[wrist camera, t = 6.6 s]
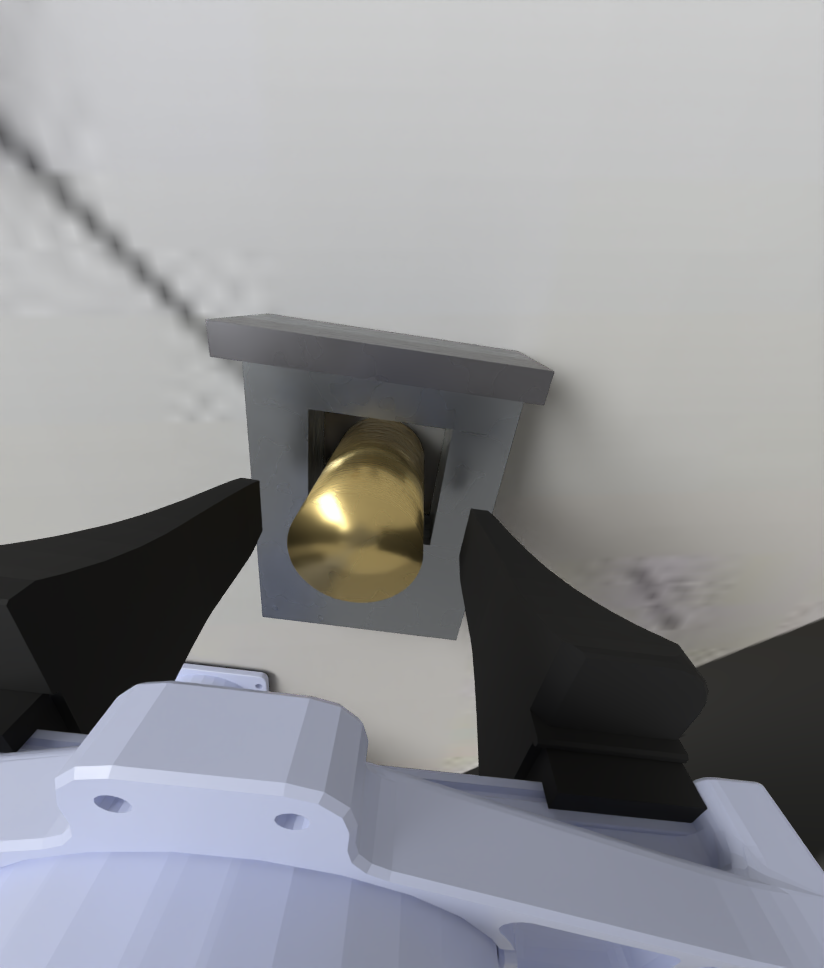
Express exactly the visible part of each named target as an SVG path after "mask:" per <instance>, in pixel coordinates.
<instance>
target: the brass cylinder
mask: <svg viewBox="0 0 824 968" xmlns="http://www.w3.org/2000/svg"><path fill="white" fill-rule="evenodd" d="M423 531H424V453H423V448H422V445H421V443H420V441H419V439H418V437H417V436H416V434H415V433H414V432H413V431H412V430H411V429H410V428H409V427H407V426H406V425H404V424H403V423H401V422H396V421H389V420H382V419H375V418H368V419H364V420H362V421H360V422H358V423H356V424H355V425H353V426H352V427H351V428H350V429H349V430H348V431H347V432H346V433H345V435H344V436H343V438H342V440H341V441H340V443H339V445H338V446H337V448H336V450H335V451H334V453H333V455H332V456H331V458H330V460H329V461H328V463H327V465H326V466H325V468H324V470H323V471H322V473H321V475H320V476H319V478H318V480H317V481H316V483H315V485H314V486H313V488H312V490H311V491H310V493H309V495H308V496H307V498H306V500H305V501H304V503H303V505H302V506H301V508H300V510H299V512H298V513H297V515H296V517H295V518H294V520H293V522H292V523H291V526H290V528H289V532H288V536H287V548H288V553H289V557H290V560H291V562H292V564H293V566H294V568H295V569H296V571H297V572H298V574H299V575H300V576H301V577H302V578H303V579H304V580H305V581H306V582H307V583H308V584H309V585H311V586H312V587H313V588H315V589H316V590H318V591H319V592H321V593H323V594H325V595H327V596H330V597H332V598H335V599H339V600H342V601H348V602H356V603H368V602H376V601H381V600H384V599H387V598H390V597H392V596H395V595H397V594H398V593H400V592H402V591H403V590H404V589H406V588H407V587H408V586H409V585H410V584H411V583H412V582H413V581H414V579H415V578H416V576H417V575H418V573H419V571H420V569H421V565H422V562H423Z"/></svg>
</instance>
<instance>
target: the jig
mask: <svg viewBox="0 0 824 968" xmlns="http://www.w3.org/2000/svg"><path fill="white" fill-rule="evenodd" d="M206 327H207V336H208V344H209V353H210V357H216V358H223V359H230V360H237V361H242V365H243V378H244V390H245V403H246V415H247V428H248V440H249V453H250V465H251V478H252V479H254V480H259V482H260V497H261V512H262V528H263V531H262V533H261V535H260V538H259V540H258V542H257V553H258V565H259V578H260V590H261V603H262V615H263V617H269V618H277V619H285V620H293V621H302V622H310V623H318V624H326V625H335V626H343V627H351V628H359V629H367V630H376V631H384V632H392V633H400V634H409V635H417V636H425V637H433V638H442V639H450V640H456V639H457V635H458V632H459V628H460V625H461V621H462V618H463V614H464V611H465V606H464V600H463V595H462V589H461V583H460V569H459V554H460V550H461V546H462V542H463V538H464V534H465V530H466V526H467V522H468V518H469V514H470V510H471V508H472V509H479V510H487V511H489V512H490V513H491V514H492V512H493V509H494V505H495V502H496V498H497V494H498V491H499V487H500V484H501V480H502V477H503V473H504V470H505V466H506V463H507V459H508V456H509V452H510V449H511V445H512V442H513V438H514V435H515V431H516V428H517V424H518V420H519V417H520V413H521V410H522V406H523V403H524V402H525V403H532V404H539V405H544V403H545V400H546V397H547V394H548V390H549V387H550V384H551V381H552V378H553V374H554V371H553V370H551V369H549V368H547V367H546V366H544V365H542V364H540V363H538V362H537V361H535V360H533V359H531V358H529V357H528V356H526V355H524V354H522V353H520V352H519V351H513V350H506V349H500V348H493V347H486V346H480V345H473V344H467V343H460V342H453V341H447V340H440V339H433V338H427V337H420V336H413V335H407V334H400V333H394V332H387V331H380V330H374V329H367V328H360V327H354V326H347V325H340V324H334V323H327V322H320V321H314V320H307V319H301V318H294V317H287V316H281V315H274V314H258V315H248V316H237V317H226V318H215V319H206ZM325 411H326V412H333V413H340V414H347V415H354V416H361V417H368V418H375V419H382V420H389V421H396V422H403V423H410V424H417V425H424V426H431V427H438V428H445V435H444V440H443V445H442V451H441V456H440V461H439V467H438V472H437V477H436V483H435V488H434V493H433V498H432V504H431V509H430V514H429V515H426V514H424V531H423V562H422V565H421V569H420V571H419V573H418V575H417V576H416V578H415V579H414V581H413V582H412V583H411V584H410V585H409V586H408V587H407V588H406V589H404V590H403V591H402V592H400V593H398V594H397V595H395V596H392V597H390V598H387V599H384V600H381V601H376V602H368V603H356V602H348V601H342V600H339V599H335V598H332V597H330V596H327V595H325V594H323V593H321V592H319V591H318V590H316V589H315V588H313V587H312V586H311V585H309V584H308V583H307V582H306V581H305V580H304V579H303V578H302V577H301V576H300V575H299V574H298V572H297V571H296V569H295V568H294V566H293V564H292V562H291V560H290V557H289V553H288V548H287V536H288V532H289V528H290V526H291V523H292V522H293V520H294V518H295V517H296V515H297V513H298V512H299V510H300V508H301V506H302V505H303V503H304V501H305V500H306V498H307V496H308V495H309V493H310V491H311V490H312V488H313V486H314V485H315V483H316V481H317V480H318V478H319V476H320V475H321V473H322V471H323V458H324V417H325Z"/></svg>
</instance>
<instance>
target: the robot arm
mask: <svg viewBox="0 0 824 968" xmlns="http://www.w3.org/2000/svg"><path fill="white" fill-rule="evenodd" d="M262 531H263V528H262V512H261V497H260V482H259V480H254V479H246V478H239V479H235V480H232V481H230V482H227V483H224V484H222V485H219V486H217V487H214V488H212V489H210V490H207V491H205V492H202V493H200V494H197V495H195V496H192V497H190V498H187V499H185V500H182V501H179V502H177V503H174V504H171V505H168V506H166V507H163V508H160V509H158V510H155V511H152V512H149V513H146V514H143V515H140V516H136V517H133V518H130V519H126V520H123V521H119V522H116V523H112V524H108V525H104V526H100V527H95V528H91V529H87V530H82V531H78V532H73V533H69V534H64V535H59V536H54V537H49V538H43V539H38V540H31V541H25V542H19V543H13V544H6V545H0V968H824V872H823V870H822V869H821V867H820V866H819V865H818V863H817V862H816V860H815V859H814V857H813V856H812V855H811V853H810V852H809V850H808V849H807V848H806V846H805V845H804V843H803V842H802V840H801V839H800V837H799V836H798V835H797V833H796V832H795V830H794V829H793V828H792V826H791V825H790V823H789V822H788V821H787V819H786V818H785V816H784V815H783V813H782V812H781V810H780V809H779V808H778V806H777V805H776V803H775V802H774V801H773V799H772V798H771V796H770V795H769V793H768V792H767V790H766V789H765V788H764V786H763V785H762V784H759V783H757V782H751V781H742V780H732V779H723V778H714V777H711V778H710V777H708V778H701V779H697V780H694V781H693V782H692V780H691V778H690V776H689V775H688V773H687V771H686V769H685V767H684V766H683V764H682V763H686V762H687V761H688V754H687V752H686V751H685V749H684V747H683V746H682V744H681V742H680V740H679V737H680V736H681V735H682V734H683V733H684V732H685V730H686V729H687V728H688V727H689V725H690V724H691V723H692V722H693V721H694V720H695V719H696V718H697V716H698V715H699V714H700V712H701V711H702V709H703V707H704V706H705V704H706V701H707V695H708V688H707V685H706V682H705V680H704V678H703V677H702V676H701V675H700V673H699V672H698V670H697V669H696V668H695V666H694V665H693V664H692V662H691V661H690V660H689V658H688V657H687V656H686V654H685V653H684V651H683V650H682V649H681V647H680V646H679V645H678V644H676V643H674V642H672V641H669V640H667V639H665V638H663V637H661V636H659V635H657V634H655V633H652V632H650V631H648V630H646V629H644V628H642V627H640V626H637V625H635V624H634V623H632V622H630V621H628V620H626V619H624V618H622V617H620V616H619V615H617V614H615V613H613V612H611V611H609V610H608V609H606V608H604V607H603V606H601V605H599V604H598V603H596V602H594V601H593V600H591V599H590V598H588V597H587V596H585V595H583V594H582V593H580V592H579V591H577V590H576V589H574V588H573V587H571V586H570V585H569V584H567V583H566V582H564V581H563V580H562V579H560V578H559V577H558V576H557V575H555V574H554V573H553V572H551V571H550V570H549V569H548V568H546V567H545V566H544V565H543V564H542V563H540V562H539V561H538V560H537V559H536V558H535V557H534V556H533V555H532V554H530V553H529V552H528V551H527V550H526V549H525V548H524V547H523V546H522V545H521V544H520V543H519V542H518V541H517V540H516V539H515V538H514V537H513V536H512V535H511V534H510V533H509V532H508V531H507V530H506V529H505V527H504V526H503V525H502V524H501V523H500V522H499V521H498V520H497V519H496V518H495V517H494V516H493V515H492V514H491V513H490V512H489V511H487V510H479V509H472V508H471V510H470V514H469V518H468V522H467V526H466V530H465V534H464V538H463V542H462V546H461V550H460V554H459V569H460V583H461V589H462V595H463V600H464V606H465V611H466V616H467V622H468V627H469V633H470V638H471V645H472V653H473V666H474V679H475V695H476V711H477V733H478V759H479V776H477V775H468V774H459V773H449V772H440V771H430V770H420V769H411V768H401V767H392V766H382V765H376V764H373V763H370V762H366V756H367V748H368V738H367V735H366V732H365V729H364V726H363V723H362V722H361V721H360V719H359V718H358V717H356V716H355V715H354V714H352V713H351V712H350V711H348V710H347V709H346V708H344V707H343V706H342V705H340V704H338V703H335V702H331V701H327V700H324V699H320V698H316V697H313V696H306V695H297V694H288V693H279V692H270V691H269V681H268V676H267V675H266V674H265V673H263V672H256V671H248V670H239V669H230V668H222V667H213V666H204V665H196V664H187V663H184V662H185V660H186V658H187V656H188V654H189V652H190V650H191V648H192V646H193V645H194V643H195V641H196V639H197V637H198V635H199V634H200V632H201V630H202V628H203V626H204V624H205V623H206V621H207V619H208V618H209V616H210V614H211V613H212V611H213V610H214V608H215V607H216V605H217V604H218V602H219V601H220V599H221V598H222V596H223V595H224V594H225V592H226V591H227V589H228V588H229V586H230V585H231V583H232V582H233V581H234V579H235V578H236V576H237V575H238V573H239V572H240V570H241V569H242V567H243V566H244V565H245V563H246V562H247V560H248V559H249V557H250V556H251V554H252V552H253V550H254V548H255V546H256V544H257V542H258V540H259V538H260V535H261V533H262Z"/></svg>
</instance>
